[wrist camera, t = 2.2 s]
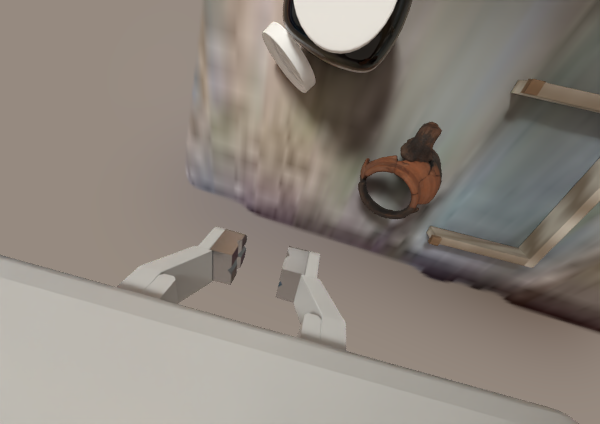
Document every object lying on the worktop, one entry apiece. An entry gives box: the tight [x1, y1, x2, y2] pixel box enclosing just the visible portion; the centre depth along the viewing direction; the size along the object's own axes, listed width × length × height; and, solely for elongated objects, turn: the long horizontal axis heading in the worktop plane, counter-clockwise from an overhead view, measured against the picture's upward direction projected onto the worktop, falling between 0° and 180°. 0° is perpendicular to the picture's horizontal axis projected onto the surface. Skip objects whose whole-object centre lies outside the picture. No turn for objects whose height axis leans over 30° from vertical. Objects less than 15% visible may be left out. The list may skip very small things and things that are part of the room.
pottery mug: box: [358, 122, 442, 219], centre depth 28 cm, size 12×10×8 cm
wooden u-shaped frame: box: [427, 79, 600, 268], centre depth 28 cm, size 20×15×3 cm
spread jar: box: [262, 0, 412, 93], centre depth 20 cm, size 12×11×12 cm
